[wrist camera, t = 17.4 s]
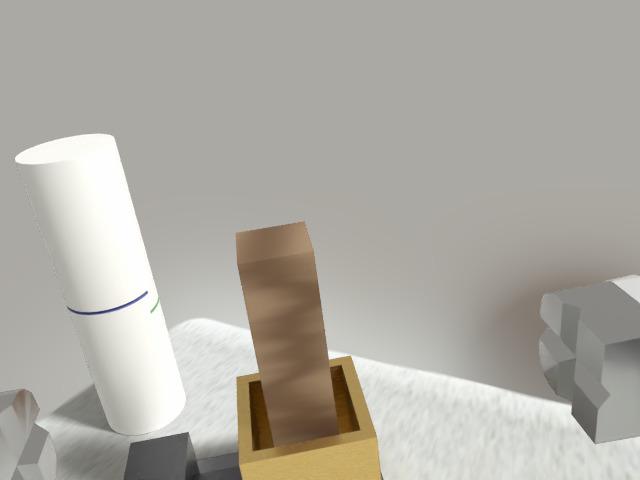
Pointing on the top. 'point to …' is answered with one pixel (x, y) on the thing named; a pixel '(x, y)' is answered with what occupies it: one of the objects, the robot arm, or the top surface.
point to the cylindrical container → (105, 278)
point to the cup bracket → (258, 448)
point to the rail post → (288, 331)
